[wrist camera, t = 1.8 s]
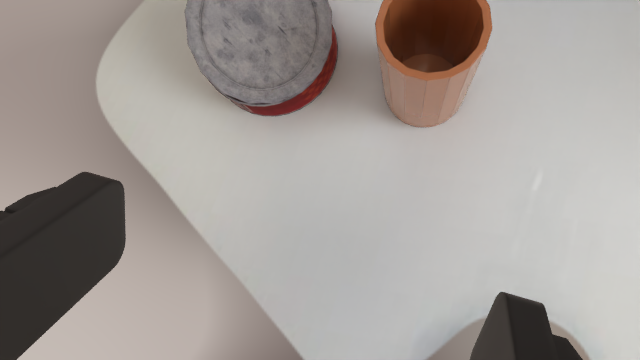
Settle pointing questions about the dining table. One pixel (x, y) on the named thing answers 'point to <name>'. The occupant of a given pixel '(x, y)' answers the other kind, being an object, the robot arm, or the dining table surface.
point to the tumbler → (430, 55)
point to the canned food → (264, 50)
